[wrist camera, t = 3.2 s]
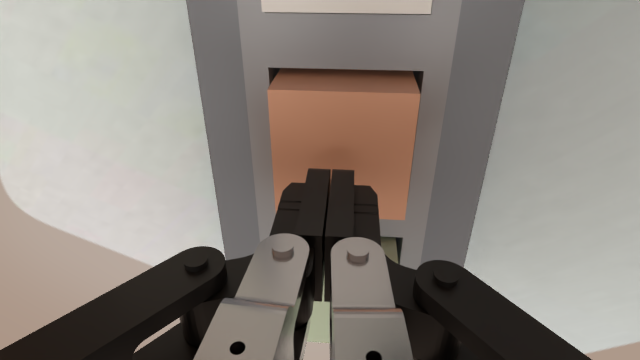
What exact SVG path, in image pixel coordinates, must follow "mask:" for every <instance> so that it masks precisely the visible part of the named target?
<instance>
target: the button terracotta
mask: <svg viewBox="0 0 640 360" xmlns="http://www.w3.org/2000/svg"><path fill="white" fill-rule="evenodd" d="M267 94H268V109H269V123H270V138H271V152H272V167H273V182H274V196H275V211H276V212H277V210H278V205H279V202H280V198H281V195H282V192H283V190H284V189H285V188H286V187H287V186H288V185H289V184H290V183H292V182H295V183H305V181H306V177H307V172H308V168H317V169H331V177H332V169H343V170H354V185H367V186H371V187H372V189H373V190H374V191H375V192H376V194H377V196H378V210H379V219H388V220H405V215H406V207H407V199H408V191H409V183H410V175H411V167H412V159H413V151H414V143H415V135H416V127H417V119H418V111H419V103H420V95H421V94H420V91H419V88H418V85H417V83H416V80H415V77H414V74H413V72H412V71H402V70H358V69H314V68H281V69H280V70H279V72H278V73H277V75H276V76H275V78H274V80H273V81H272V83H271V84H270V86H269V88H268V89H267Z"/></svg>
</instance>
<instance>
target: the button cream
mask: <svg viewBox="0 0 640 360" xmlns="http://www.w3.org/2000/svg"><path fill="white" fill-rule="evenodd" d="M261 7H262V12H296V13H379V14H431V7H432V0H261Z"/></svg>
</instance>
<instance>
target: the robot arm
mask: <svg viewBox="0 0 640 360" xmlns="http://www.w3.org/2000/svg"><path fill="white" fill-rule="evenodd" d="M324 275H325V277H324ZM323 285H324V302H330V319H329V336H330V360H591V359H590V358H589V357H587V356H586V355H584V354H583V353H582V352H580V351H579V350H578V349H576V348H575V347H573V346H572V345H571V344H569V343H568V342H566V341H565V340H564V339H562V338H561V337H559V336H558V335H557V334H555V333H554V332H552V331H551V330H550V329H548V328H547V327H545V326H544V325H543V324H541V323H540V322H539V321H537V320H536V319H534V318H533V317H532V316H530V315H529V314H527V313H526V312H525V311H523V310H522V309H520V308H519V307H518V306H516V305H515V304H513V303H512V302H511V301H509V300H508V299H506V298H505V297H504V296H502V295H501V294H500V293H498V292H497V291H495V290H494V289H493V288H491V287H490V286H488V285H487V284H486V283H484V282H483V281H481V280H480V279H479V278H477V277H476V276H474V275H473V274H472V273H470V272H469V271H468V270H466V269H465V268H463V267H462V266H460V265H458V264H456V263H453V262H450V261H446V260H431V261H427V262H425V263H423V264H421V265H420V266H419V267H418V268H417V270H415V269H412V268H408V267H405V266H402V265H400V264H397V263H395V262H394V261H392V260H391V259H390V258H388V257H387V256H386V255H385V253H384V250H383V249H382V247H381V236H380V223H379V210H378V196H377V194H376V192H375V191H374V190H373V189H372V187H371V186H367V185H354V170H343V169H332V177H331V169H317V168H308V172H307V177H306V181H305V183H295V182H292V183H290V184H289V185H288V186H287V187H286V188H285V189H284V190H283V192H282V195H281V198H280V202H279V205H278V210H277V212H276V215H275V219H274V222H273V225H272V229H271V232H270V235H269V237H267V238H265V239H264V240H262V241H261V242H260V243H259V245H258V246H257V248H256V250H255V253H254V254H252V255H249V256H246V257H241V258H236V259H230V260H225V257H224V255H223V254H222V253H221V252H220V251H219V250H217V249H215V248H212V247H206V246H200V247H194V248H190V249H187V250H185V251H182V252H180V253H179V254H177V255H175V256H173V257H171V258H169V259H168V260H166V261H164V262H162V263H160V264H158V265H156V266H155V267H153V268H151V269H149V270H147V271H145V272H144V273H142V274H140V275H138V276H137V277H134V278H133V279H131V280H129V281H127V282H125V283H123V284H121V285H120V286H118V287H116V288H114V289H112V290H111V291H109V292H107V293H105V294H103V295H101V296H99V297H98V298H96V299H94V300H92V301H90V302H88V303H87V304H85V305H83V306H81V307H79V308H77V309H76V310H73V311H72V312H70V313H68V314H66V315H64V316H62V317H61V318H59V319H57V320H55V321H53V322H51V323H49V324H48V325H46V326H44V327H42V328H40V329H38V330H37V331H35V332H33V333H31V334H29V335H27V336H26V337H24V338H22V339H20V340H18V341H16V342H14V343H13V344H11V345H9V346H7V347H5V348H3V349H2V350H0V360H303V356H304V352H305V347H306V342H307V338H308V333H309V329H310V317H311V315H312V311H313V303H314V301H319V302H322V295H323ZM178 318H180V323H179V324H177V325H176V326H174V327H173V328H171V329H170V330H168V331H167V332H165V333H164V334H162V335H161V336H159V337H158V338H156V339H155V340H153V341H152V342H150V343H149V344H147V345H146V346H144V347H143V348H141V349H140V350H138V351H137V352H135V353H134V351H135V349H136V348H137V347H138V345H139V344H140V343H141V342H143V341H144V340H145V339H147V338H148V337H150V336H151V335H153V334H154V333H156V332H157V331H159V330H161V329H162V328H164V327H165V326H167V325H168V324H170V323H171V322H173V321H174V320H176V319H178ZM133 353H134V354H133Z"/></svg>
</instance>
